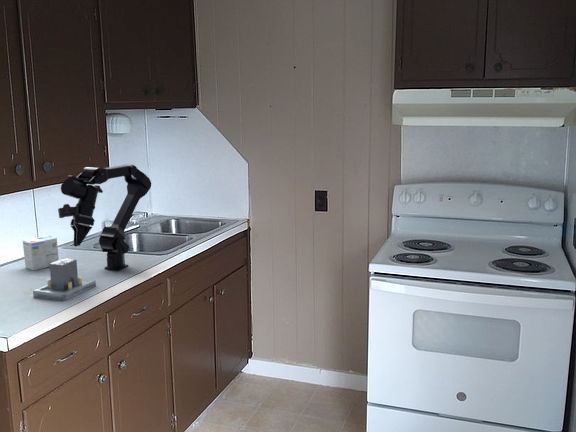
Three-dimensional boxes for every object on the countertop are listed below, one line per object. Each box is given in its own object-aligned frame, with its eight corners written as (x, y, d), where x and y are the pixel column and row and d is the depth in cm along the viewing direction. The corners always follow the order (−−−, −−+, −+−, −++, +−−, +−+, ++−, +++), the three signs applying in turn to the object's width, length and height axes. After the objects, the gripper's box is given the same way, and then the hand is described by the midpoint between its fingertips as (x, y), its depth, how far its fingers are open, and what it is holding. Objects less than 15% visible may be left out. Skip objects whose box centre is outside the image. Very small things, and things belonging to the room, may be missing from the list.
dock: (66, 282, 203) (65, 270, 202) (95, 285, 199) (95, 273, 198) (33, 296, 188) (32, 284, 187) (64, 301, 184) (63, 288, 184)
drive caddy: (66, 283, 198) (64, 257, 196) (79, 285, 196) (77, 259, 194) (51, 290, 191) (49, 263, 189) (64, 291, 189) (62, 265, 188)
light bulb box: (50, 261, 229) (48, 234, 226) (60, 264, 224) (57, 237, 222) (24, 267, 221) (21, 240, 218) (33, 270, 216) (30, 242, 214)
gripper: (61, 199, 209) (50, 242, 206) (64, 193, 192) (53, 240, 190) (92, 206, 213) (82, 248, 211) (99, 201, 196) (88, 247, 194)
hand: (76, 245), depth 201 cm, fingers open, 9 cm apart
